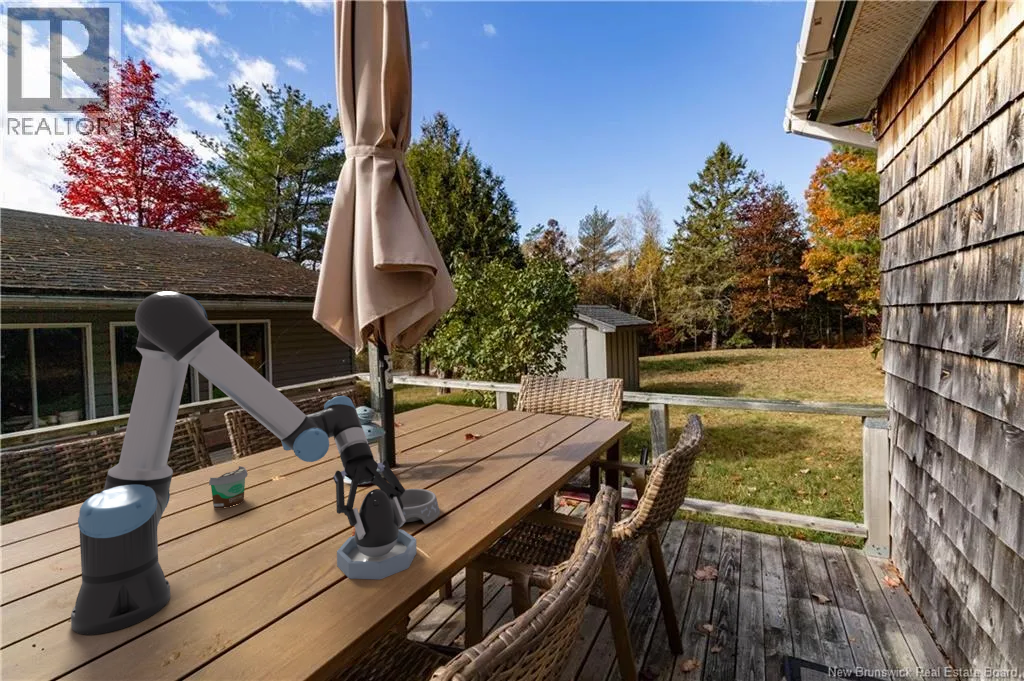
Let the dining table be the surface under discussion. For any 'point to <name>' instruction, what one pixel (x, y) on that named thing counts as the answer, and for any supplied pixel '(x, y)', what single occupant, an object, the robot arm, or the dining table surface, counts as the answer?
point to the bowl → (376, 559)
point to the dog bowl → (419, 505)
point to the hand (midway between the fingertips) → (382, 530)
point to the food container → (228, 488)
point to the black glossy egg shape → (377, 524)
